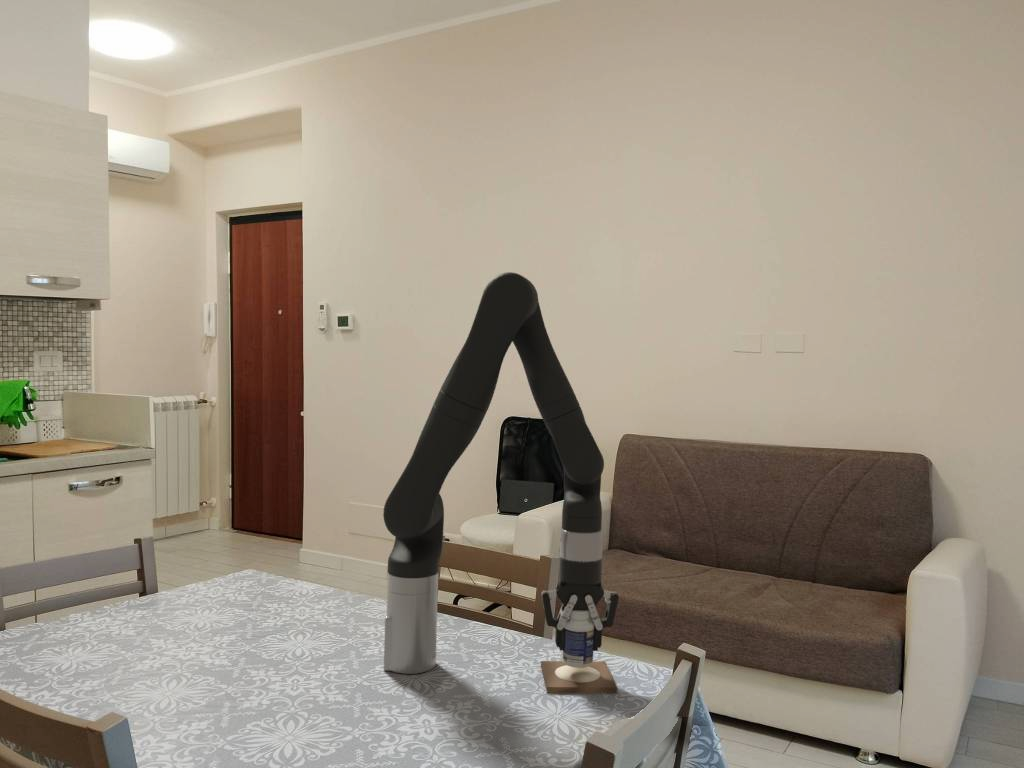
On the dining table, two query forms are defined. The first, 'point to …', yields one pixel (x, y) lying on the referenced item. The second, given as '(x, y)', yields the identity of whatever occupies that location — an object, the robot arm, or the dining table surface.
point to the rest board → (577, 678)
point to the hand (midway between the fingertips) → (578, 648)
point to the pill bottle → (578, 639)
